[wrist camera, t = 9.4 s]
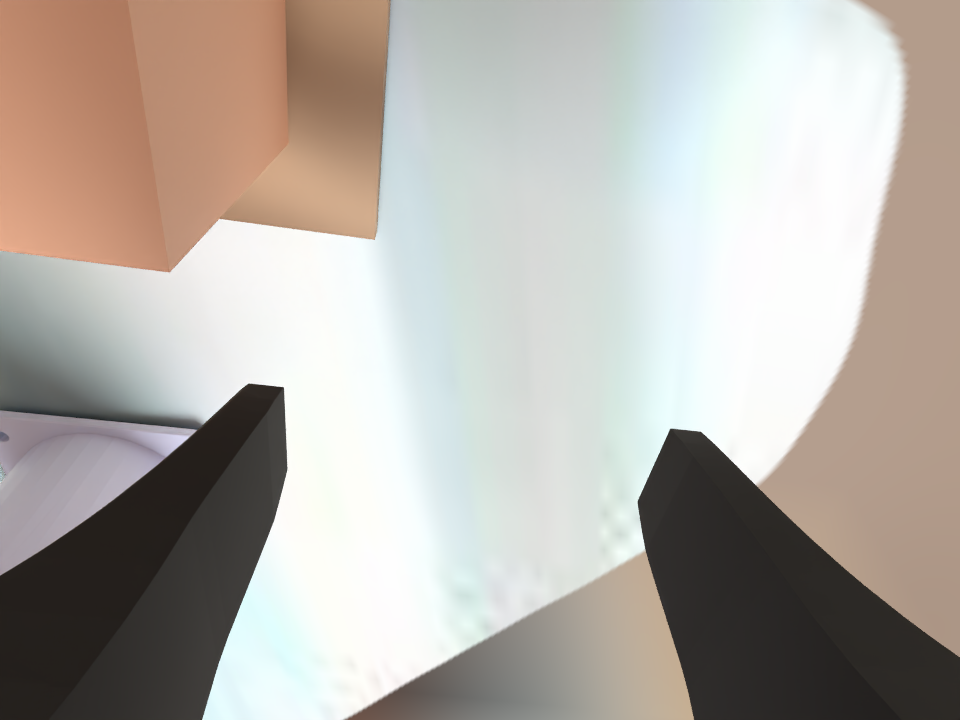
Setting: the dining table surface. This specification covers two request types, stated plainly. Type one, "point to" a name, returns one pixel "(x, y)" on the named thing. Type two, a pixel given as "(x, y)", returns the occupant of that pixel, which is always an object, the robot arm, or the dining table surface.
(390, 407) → the dining table surface
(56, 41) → the terracotta block
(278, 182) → the walnut pad
